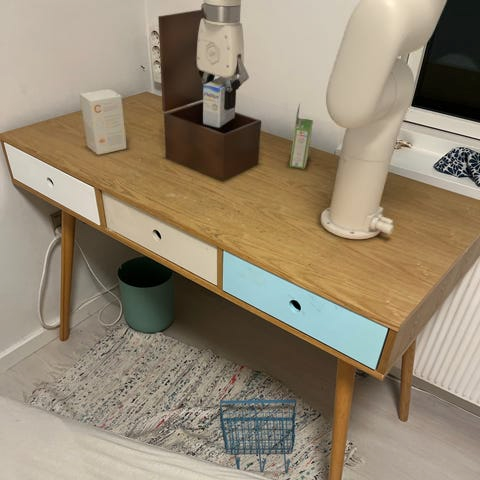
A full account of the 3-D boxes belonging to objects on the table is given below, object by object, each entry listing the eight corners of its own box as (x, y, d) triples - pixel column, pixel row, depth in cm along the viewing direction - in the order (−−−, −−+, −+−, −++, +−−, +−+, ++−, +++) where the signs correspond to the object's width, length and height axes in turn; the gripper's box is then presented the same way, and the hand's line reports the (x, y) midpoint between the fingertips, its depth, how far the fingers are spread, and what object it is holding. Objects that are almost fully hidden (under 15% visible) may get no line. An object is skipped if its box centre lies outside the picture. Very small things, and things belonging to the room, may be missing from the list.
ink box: (305, 169, 124) (313, 114, 116) (289, 167, 125) (296, 112, 116) (307, 158, 130) (315, 104, 121) (292, 156, 130) (299, 102, 121)
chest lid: (204, 9, 113) (201, 9, 114) (160, 16, 105) (158, 16, 105) (203, 99, 126) (201, 98, 126) (164, 112, 118) (162, 111, 118)
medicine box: (218, 114, 121) (219, 76, 115) (235, 118, 120) (236, 79, 114) (202, 124, 115) (202, 84, 110) (219, 128, 114) (220, 88, 108)
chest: (258, 164, 125) (261, 120, 118) (222, 181, 117) (224, 135, 110) (202, 143, 134) (202, 101, 126) (165, 158, 125) (163, 113, 118)
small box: (115, 140, 132) (110, 88, 123) (127, 149, 128) (122, 95, 120) (86, 146, 128) (78, 92, 119) (97, 155, 124) (90, 100, 116)
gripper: (179, 9, 105) (181, 99, 117) (243, 23, 97) (238, 119, 109) (203, 5, 109) (202, 93, 121) (266, 18, 102) (259, 111, 114)
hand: (219, 104), depth 115 cm, fingers closed on medicine box, 5 cm apart
